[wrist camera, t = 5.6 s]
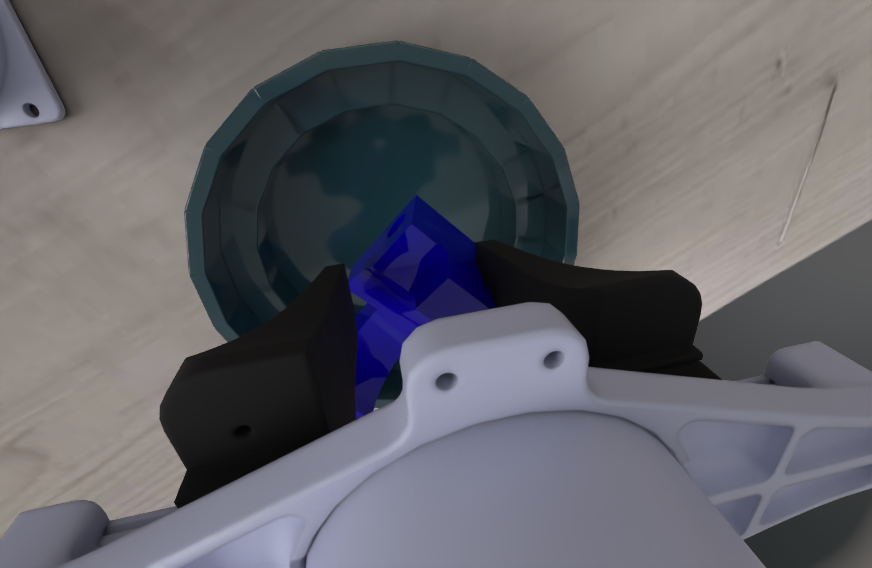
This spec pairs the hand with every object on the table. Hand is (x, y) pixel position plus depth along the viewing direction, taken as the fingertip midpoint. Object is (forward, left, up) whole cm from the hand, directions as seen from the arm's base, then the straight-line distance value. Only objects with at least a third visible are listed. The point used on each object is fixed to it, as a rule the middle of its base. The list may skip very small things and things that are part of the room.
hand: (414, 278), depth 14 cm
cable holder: (-1, -2, -3) cm, 3 cm away
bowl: (0, -1, -8) cm, 8 cm away
